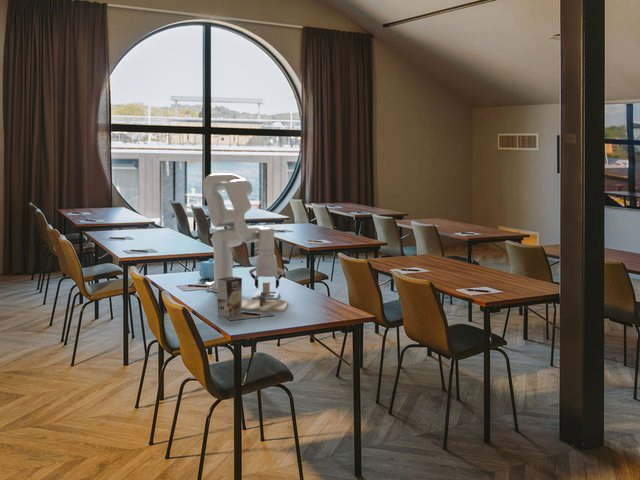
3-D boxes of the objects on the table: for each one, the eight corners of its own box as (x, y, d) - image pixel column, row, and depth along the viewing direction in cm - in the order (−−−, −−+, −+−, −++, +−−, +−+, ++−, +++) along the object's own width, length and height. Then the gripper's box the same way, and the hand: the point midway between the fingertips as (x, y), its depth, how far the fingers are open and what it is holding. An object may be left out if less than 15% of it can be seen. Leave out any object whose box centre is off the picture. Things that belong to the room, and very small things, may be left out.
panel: (251, 301, 337) (251, 284, 336) (256, 294, 353) (256, 278, 352) (276, 301, 336) (276, 285, 335) (279, 295, 352) (280, 279, 351)
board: (236, 310, 317) (236, 298, 316) (241, 302, 335) (241, 290, 334) (284, 311, 316) (284, 299, 316) (287, 302, 334) (288, 291, 334)
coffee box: (228, 317, 304) (228, 280, 302) (217, 315, 307) (217, 279, 305) (242, 313, 311) (242, 277, 309) (231, 311, 315) (231, 276, 313)
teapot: (224, 281, 389) (224, 260, 387) (199, 281, 386) (199, 261, 385) (223, 276, 403) (223, 256, 402) (198, 276, 401) (198, 257, 400)
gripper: (247, 254, 338) (248, 289, 340) (283, 254, 338) (284, 289, 340) (249, 252, 346) (250, 286, 348) (285, 252, 345) (285, 286, 347)
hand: (267, 287), depth 344 cm, fingers open, 9 cm apart
